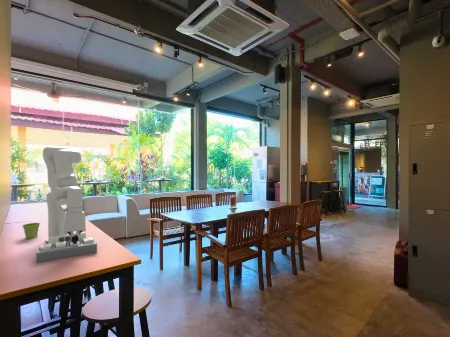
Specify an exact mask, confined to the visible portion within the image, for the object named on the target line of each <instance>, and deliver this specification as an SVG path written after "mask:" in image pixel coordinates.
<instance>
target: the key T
mask: <svg viewBox="0 0 450 337" xmlns="http://www.w3.org/2000/svg"><path fill="white" fill-rule="evenodd" d="M93 238H94V237H86V238H85V239H83V244H86V243H92V242H93Z"/></svg>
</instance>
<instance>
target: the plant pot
mask: <svg viewBox="0 0 450 337" xmlns="http://www.w3.org/2000/svg"><path fill="white" fill-rule="evenodd" d="M40 225H41V223H40V222H31V223H25V224H22V228H23V230H24V231H23V232H24V237H25V239H27V240H28V239H34V238H37V237H38V232H39V227H40Z"/></svg>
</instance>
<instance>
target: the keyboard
mask: <svg viewBox="0 0 450 337" xmlns="http://www.w3.org/2000/svg"><path fill="white" fill-rule="evenodd" d="M75 235H76V233H74V236H75ZM47 238H48V242H47V244H50V243H52V249H47V250H41V251H40V247H41V245H38V246H37V249H36V253H35V254H36V255H35V257H36V258H35V260H36V264H39V263H44V262H45V263H46V262H48V261H56V260H61V259H67V258H72V257H77V256H83V255H90V254H94V253H98V242H97V241H96V238H95V237H92V238H93V242H92V243H86V244H83V239H85V238H87V232H86V231H84V232H81V233H80V234H79V236H78V241H80V244H79V245H73V246H70V243H71V242H72V236H70V235H69V234H67V235H63V236H55V237H47ZM64 241H66V247H60V248H56V243H57V242H64Z"/></svg>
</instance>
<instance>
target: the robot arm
mask: <svg viewBox="0 0 450 337" xmlns="http://www.w3.org/2000/svg"><path fill="white" fill-rule="evenodd" d="M42 159H43V161H44V164H45V166H46V169H47V182H48V183H47V184H48V188H50V191H49V192H47V194H46V197H45V200H46V204H47V212H48V213H47V214H48V215H47V217H48V218H47V223H48V225H47V226H48V232H47V234H48V235H47V236H48V237H55V236H63V235H70V236H72V242H73V243H74V244H75V243H77V241H78V236H79V234H80V233H85V232H86V231H87V229H86V224H87V223H86V215H85V211H83V210H84V209H83V189H82V187H79V186H78V179H77V177H76V175H75V174H74V168H73V166H74V165H73V164H80V163H81V161H82V155H81V152H80V151H79V150H78V149H76V148H74V147H72V146H71V147H70V146H69V147H67V146H47V147H44V148H43V150H42ZM62 206H66V207H65V208H64V207H62ZM74 232H75V233H74ZM74 234H76V235H75V236H74ZM48 237H46V238H45V242H46V243H48Z"/></svg>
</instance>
